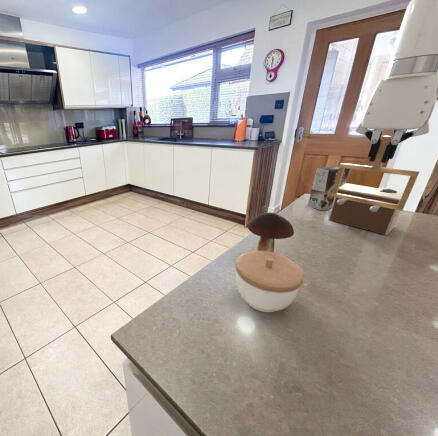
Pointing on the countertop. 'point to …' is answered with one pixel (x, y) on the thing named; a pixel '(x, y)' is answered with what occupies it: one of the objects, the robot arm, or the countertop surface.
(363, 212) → the cabinet
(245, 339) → the countertop surface
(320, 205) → the coffee box
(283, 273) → the lidded bowl
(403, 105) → the robot arm
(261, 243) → the decorative mushroom
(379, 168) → the wooden frame with handle
